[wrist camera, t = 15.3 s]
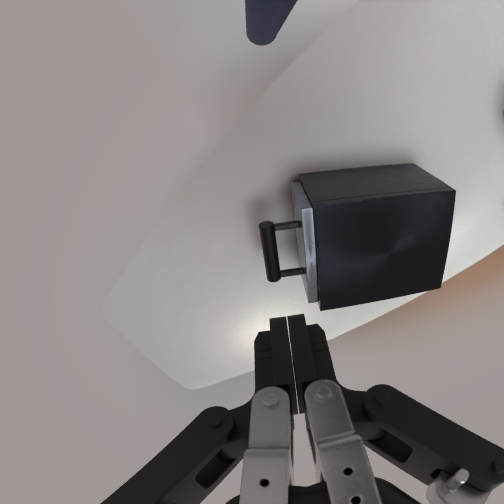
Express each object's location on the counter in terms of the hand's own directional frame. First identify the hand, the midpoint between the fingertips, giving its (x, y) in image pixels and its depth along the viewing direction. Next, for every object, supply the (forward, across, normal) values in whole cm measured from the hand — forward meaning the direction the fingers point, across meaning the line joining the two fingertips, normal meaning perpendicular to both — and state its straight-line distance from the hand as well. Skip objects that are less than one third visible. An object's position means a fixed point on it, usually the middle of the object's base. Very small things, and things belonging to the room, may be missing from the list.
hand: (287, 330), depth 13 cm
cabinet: (+27, -12, +8) cm, 31 cm away
